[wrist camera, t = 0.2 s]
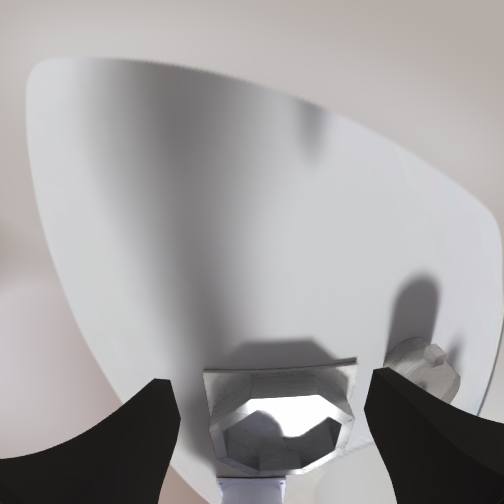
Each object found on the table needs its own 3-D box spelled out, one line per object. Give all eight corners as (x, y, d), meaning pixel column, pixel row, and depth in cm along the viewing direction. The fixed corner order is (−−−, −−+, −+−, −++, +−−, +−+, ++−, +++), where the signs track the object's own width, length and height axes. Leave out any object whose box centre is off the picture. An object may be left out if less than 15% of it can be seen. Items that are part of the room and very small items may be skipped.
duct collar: (336, 448, 22) (341, 469, 19) (219, 455, 22) (216, 477, 19) (356, 361, 19) (369, 383, 16) (203, 369, 20) (196, 394, 17)
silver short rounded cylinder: (420, 377, 20) (447, 412, 14) (377, 387, 20) (400, 428, 15) (435, 324, 19) (472, 355, 13) (390, 332, 19) (422, 370, 13)
